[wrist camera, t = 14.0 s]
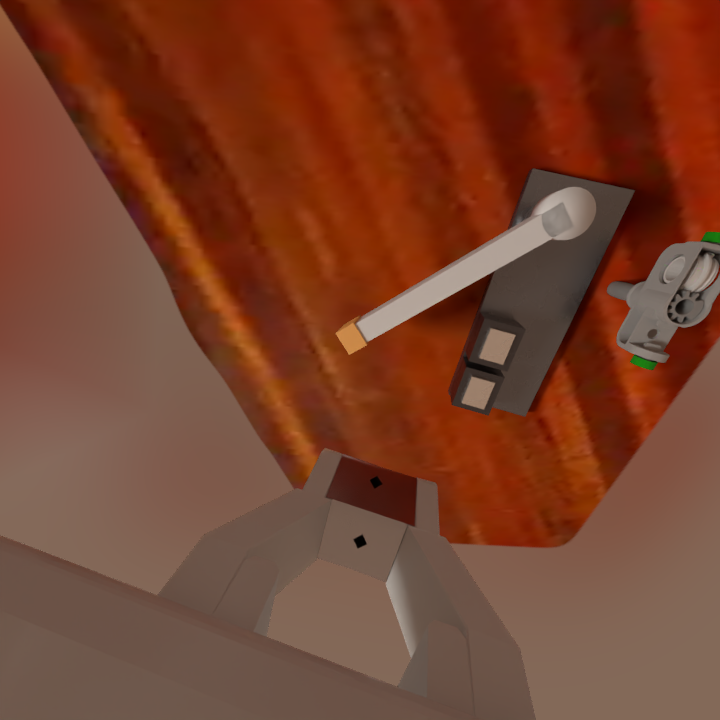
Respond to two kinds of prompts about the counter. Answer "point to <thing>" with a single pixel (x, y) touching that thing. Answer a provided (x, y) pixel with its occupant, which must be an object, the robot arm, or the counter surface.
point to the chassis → (547, 284)
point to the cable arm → (478, 263)
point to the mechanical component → (668, 298)
